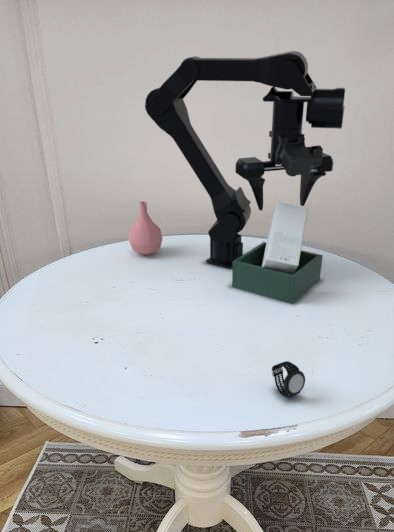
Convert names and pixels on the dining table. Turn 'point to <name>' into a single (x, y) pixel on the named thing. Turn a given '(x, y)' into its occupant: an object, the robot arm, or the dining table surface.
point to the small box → (285, 238)
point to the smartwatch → (288, 379)
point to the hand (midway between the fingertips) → (281, 207)
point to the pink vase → (145, 233)
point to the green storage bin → (275, 275)
